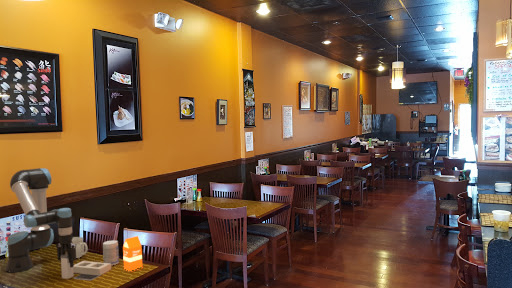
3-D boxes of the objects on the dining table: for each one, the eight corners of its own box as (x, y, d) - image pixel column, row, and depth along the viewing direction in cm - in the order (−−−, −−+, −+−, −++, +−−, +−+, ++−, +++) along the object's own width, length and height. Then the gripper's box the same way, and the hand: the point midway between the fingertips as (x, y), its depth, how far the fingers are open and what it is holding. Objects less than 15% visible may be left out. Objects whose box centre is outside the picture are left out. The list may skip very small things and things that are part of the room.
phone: (91, 281, 227) (91, 279, 227) (73, 279, 231) (73, 277, 231) (99, 277, 234) (99, 275, 234) (82, 275, 238) (82, 273, 238)
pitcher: (81, 261, 264) (80, 241, 263) (61, 259, 269) (60, 239, 269) (93, 256, 274) (92, 236, 274) (73, 254, 280) (72, 235, 279)
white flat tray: (71, 272, 242) (71, 266, 242) (83, 267, 252) (82, 261, 251) (100, 275, 235) (99, 268, 235) (111, 269, 245) (110, 263, 244)
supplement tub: (120, 264, 254) (119, 242, 253) (105, 267, 249) (104, 245, 248) (117, 260, 262) (116, 239, 261) (102, 263, 257) (101, 241, 256)
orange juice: (123, 269, 245) (122, 238, 244) (136, 265, 251) (134, 235, 250) (130, 271, 239) (128, 240, 239) (142, 267, 246) (141, 236, 245)
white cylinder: (61, 278, 233) (60, 255, 232) (67, 275, 237) (66, 253, 237) (67, 278, 231) (66, 255, 231) (73, 276, 236) (72, 253, 235)
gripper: (49, 234, 233) (51, 273, 233) (72, 236, 227) (74, 275, 228) (59, 231, 240) (61, 268, 240) (81, 233, 234) (83, 271, 235)
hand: (67, 271), depth 234 cm, fingers closed on white cylinder, 4 cm apart
